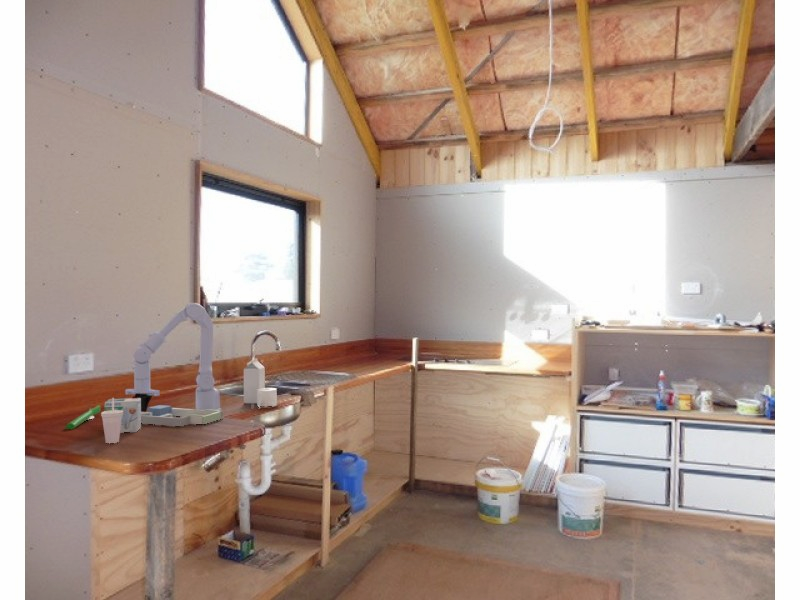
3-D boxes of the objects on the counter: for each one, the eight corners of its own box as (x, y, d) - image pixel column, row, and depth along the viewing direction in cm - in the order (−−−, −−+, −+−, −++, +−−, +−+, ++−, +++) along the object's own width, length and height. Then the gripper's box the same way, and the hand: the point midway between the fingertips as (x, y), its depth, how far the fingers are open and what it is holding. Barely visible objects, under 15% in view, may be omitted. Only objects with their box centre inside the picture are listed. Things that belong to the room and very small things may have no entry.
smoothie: (127, 439, 187) (126, 396, 187) (118, 444, 181) (117, 399, 181) (106, 440, 187) (106, 396, 187) (97, 445, 181) (96, 400, 181)
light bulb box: (103, 434, 195) (103, 402, 195) (108, 430, 202) (108, 398, 202) (138, 432, 198) (138, 400, 198) (141, 428, 205) (141, 397, 205)
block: (159, 416, 225) (159, 405, 225) (171, 417, 223) (171, 405, 223) (147, 419, 220) (147, 407, 220) (160, 420, 218) (160, 408, 218)
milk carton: (265, 401, 258) (264, 358, 258) (259, 403, 251) (259, 359, 251) (249, 400, 259) (249, 358, 259) (243, 403, 252) (243, 359, 252)
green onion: (76, 432, 203) (106, 411, 233) (76, 422, 203) (105, 403, 233) (61, 432, 202) (93, 411, 232) (61, 423, 202) (92, 403, 232)
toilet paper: (259, 409, 239) (259, 392, 239) (256, 404, 250) (255, 388, 250) (279, 407, 242) (279, 391, 242) (275, 403, 253) (275, 387, 253)
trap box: (159, 414, 228) (159, 406, 228) (222, 419, 219) (222, 410, 219) (128, 422, 213) (128, 413, 213) (195, 428, 204) (195, 418, 204)
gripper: (119, 379, 222) (119, 414, 222) (150, 380, 218) (150, 416, 218) (133, 376, 229) (133, 411, 229) (163, 378, 225) (163, 413, 225)
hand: (142, 413), depth 224 cm, fingers closed
